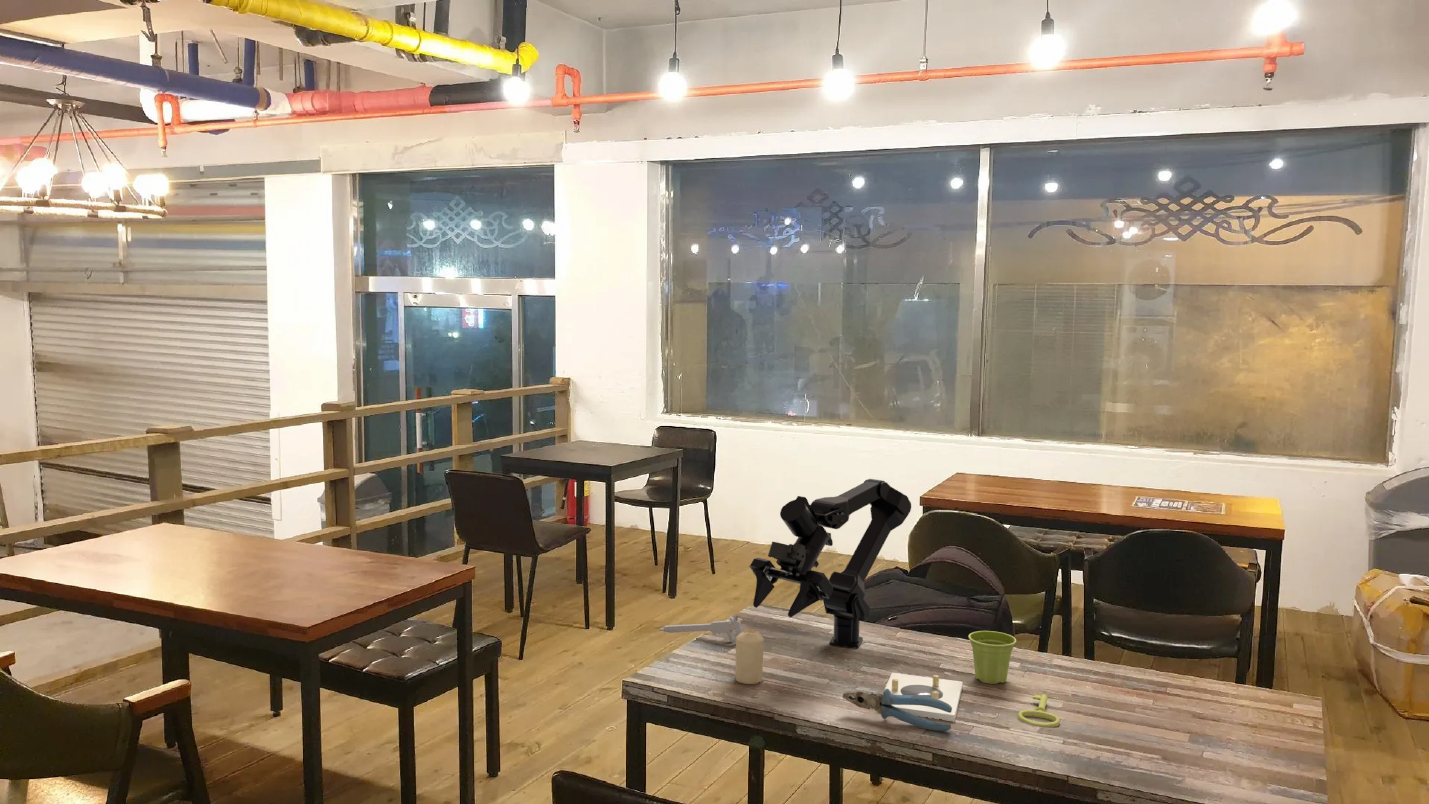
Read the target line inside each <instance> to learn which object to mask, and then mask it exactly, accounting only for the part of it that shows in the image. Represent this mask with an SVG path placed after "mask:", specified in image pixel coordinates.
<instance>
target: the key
mask: <svg viewBox="0 0 1429 804" xmlns="http://www.w3.org/2000/svg"><path fill="white" fill-rule="evenodd" d="M1032 700H1036V701H1037V700H1038V701H1039V704H1038V707H1036V708H1035V710H1034V709H1025V710H1021V711H1019V712H1018V715H1017V718H1018V721H1020V722H1022V723H1025V724H1028V725H1031V726H1032V725H1033V726H1036V727H1037V726H1038V727H1043V728H1055V727H1058V725H1060V723H1061V722H1060V717H1058V716H1057V715H1055V714H1053V713H1050V712H1047V710H1046V705H1047V701H1048V694H1045V693H1043V694H1041V695H1040V694H1039V695H1038V694H1035V693H1034V694H1033V695H1032ZM1027 717H1036V718H1041V719H1045V720H1050V722H1041V721H1040V722H1039V721H1036V720H1035V721H1034V720H1031V719H1028V718H1027Z"/></svg>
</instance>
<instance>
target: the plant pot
mask: <svg viewBox="0 0 1429 804" xmlns="http://www.w3.org/2000/svg"><path fill="white" fill-rule="evenodd" d="M968 639H969V641H970V645H971V647H972V654H973V655H972V656H973V663H974V665H973V667H974V673H975V679H976V680H979V681H980V682H982V683H984V684H990V685H995V684H996V685H997V684H999V683H1002V684H1004V683H1005V682H1007V680H1008V673H1009V667H1010V661H1011V656H1012V652H1013V650H1014V646H1015V644H1017V639H1016V638H1015V636H1013V635H1011V634H1007V633H1005V632H999V631H993V630H992V631H991V630H979V631H978V630H977V631H973V632H971V633H969V634H968Z"/></svg>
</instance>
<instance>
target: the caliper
mask: <svg viewBox="0 0 1429 804" xmlns="http://www.w3.org/2000/svg"><path fill="white" fill-rule="evenodd" d="M734 630H735V634H736V637H737V636H738V635H739V634H740V633H742V632H743V627H742V623H741V620H738V616H737V615H736V616H734V617H733V615H730V616H729V620H720V621H717V620H716V621H711V622H710V623H699V624H698V623H694V624H693V623H690V624H675V625H672V624H671V625H664V626H663V627H661V628H660V629H658V631H659V632H664V633H672V634H673V633H690V632H692V633H693V632H712V635H716V634H717V635H721V634H722V633H724V632H725V634H726V635H727V638H728V640H729V642H730V643H732V644H733V643H736V640H735V635H734Z"/></svg>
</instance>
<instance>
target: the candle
mask: <svg viewBox="0 0 1429 804" xmlns="http://www.w3.org/2000/svg"><path fill="white" fill-rule="evenodd" d="M764 641H765V640H764V637H763V635H761V633H760V632H759V631H758V630H753V629H752V628H746V629H745V630H742V633H740V634H739V635H738V636H737V635H736V638H735V669H734V670H735V673H734V674H735V676H734V677H735V681H736V682H738V683H740V684H745V685H756V684H760V683H761V682H762V681H763V676H764ZM759 682H760V683H759Z"/></svg>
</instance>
